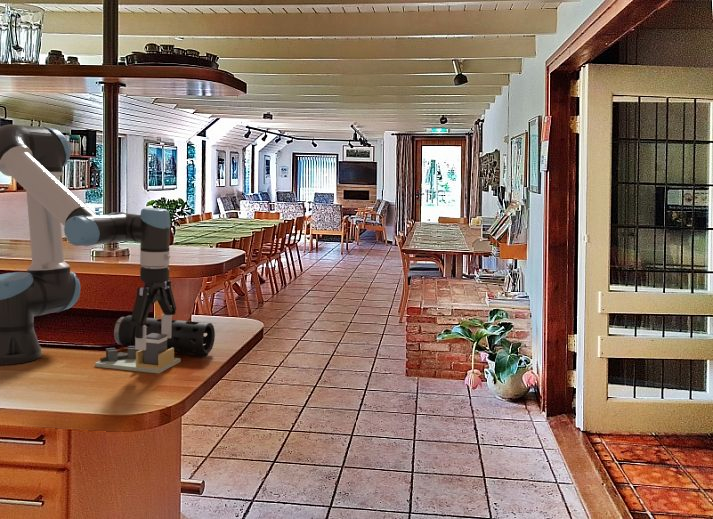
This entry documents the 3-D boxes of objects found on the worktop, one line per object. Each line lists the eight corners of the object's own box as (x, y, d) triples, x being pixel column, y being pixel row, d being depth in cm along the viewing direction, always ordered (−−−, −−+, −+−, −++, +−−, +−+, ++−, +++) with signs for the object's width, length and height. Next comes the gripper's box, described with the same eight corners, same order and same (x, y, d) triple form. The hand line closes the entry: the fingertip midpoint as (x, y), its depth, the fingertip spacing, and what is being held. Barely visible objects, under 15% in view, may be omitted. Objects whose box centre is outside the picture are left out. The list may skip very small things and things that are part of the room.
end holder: (135, 366, 189) (135, 352, 188) (150, 359, 196) (150, 345, 195) (160, 369, 187) (160, 354, 186) (174, 361, 194) (174, 347, 194)
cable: (100, 361, 192) (99, 358, 192) (100, 358, 195) (100, 355, 195) (148, 359, 195) (148, 356, 195) (148, 356, 199) (148, 353, 198)
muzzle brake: (202, 361, 200) (202, 325, 199) (112, 352, 205) (112, 318, 204) (215, 352, 209) (215, 318, 208) (129, 345, 215) (129, 311, 213)
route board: (94, 366, 191) (94, 352, 190) (119, 355, 202) (119, 341, 202) (158, 373, 186) (158, 358, 186) (180, 361, 198) (180, 348, 198)
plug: (143, 365, 190) (143, 336, 189) (152, 361, 194) (152, 332, 193) (158, 367, 189) (158, 338, 188) (167, 362, 193) (167, 334, 192)
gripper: (142, 274, 175) (142, 356, 178) (189, 261, 199) (187, 334, 202) (116, 271, 177) (115, 353, 180) (165, 259, 201) (164, 331, 204)
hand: (153, 343), depth 191 cm, fingers open, 13 cm apart
